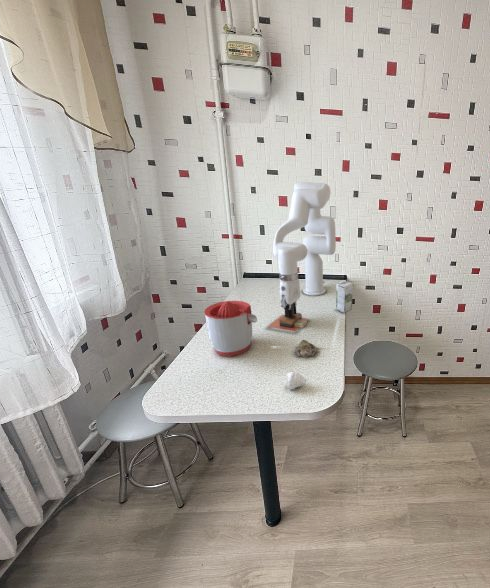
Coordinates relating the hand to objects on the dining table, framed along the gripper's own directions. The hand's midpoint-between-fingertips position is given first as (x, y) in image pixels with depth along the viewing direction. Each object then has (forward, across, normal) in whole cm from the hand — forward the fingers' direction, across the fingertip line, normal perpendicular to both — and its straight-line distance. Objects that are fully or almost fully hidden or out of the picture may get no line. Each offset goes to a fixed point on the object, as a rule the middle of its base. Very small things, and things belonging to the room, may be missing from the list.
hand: (290, 315), depth 146 cm
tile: (+5, 0, +1) cm, 5 cm away
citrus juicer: (+5, -25, +10) cm, 27 cm away
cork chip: (+4, -1, -5) cm, 6 cm away
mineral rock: (+5, -18, -16) cm, 25 cm away
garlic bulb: (+5, -39, -23) cm, 45 cm away
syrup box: (+5, +23, -17) cm, 29 cm away
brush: (+4, 0, 0) cm, 4 cm away
